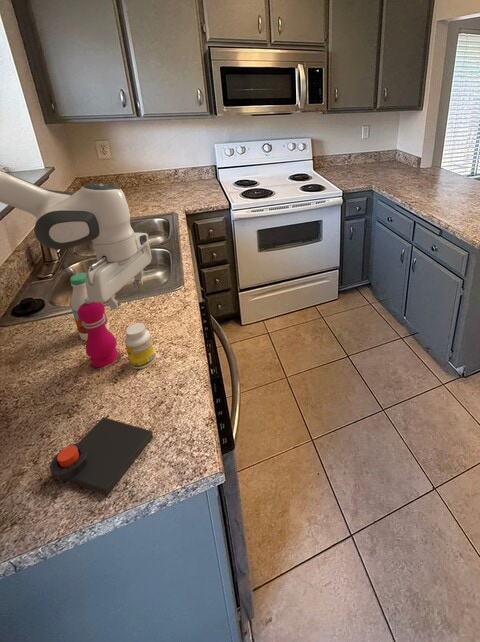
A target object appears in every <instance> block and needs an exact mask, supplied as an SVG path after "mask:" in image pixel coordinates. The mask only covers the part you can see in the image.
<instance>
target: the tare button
mask: <svg viewBox="0 0 480 642" xmlns="http://www.w3.org/2000/svg"><path fill="white" fill-rule="evenodd" d="M70 445H71V444H70ZM62 449H63V450H62ZM62 449H61V450H62V451H61V450H60V451H61V452H60V451H59V452H60V453H59V452H58V453H59V454H58V453H57V454H58V457H57V459H58V462H59V464H60V466H61V467H68V466H70V465H72V464H74V463H75V462H76V461H77V459H78V458H79V452H78V449H77V447H76V446H75V445H71V446H69V445H67V446H66V447H64V448H62Z"/></svg>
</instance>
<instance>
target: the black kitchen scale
mask: <svg viewBox="0 0 480 642" xmlns="http://www.w3.org/2000/svg"><path fill="white" fill-rule="evenodd" d="M153 438H154V435H153V431H152V430H150V429H145V428H143V427H139V426H135V425H132V424H128V423H125V422H121V421H118V420H115V419H111V418H108V417H105V416H103V417H102V418H101V419H100V420H99V421H98V422H97V423H96V424H95V425H94V426H93V427H92V428H91V429H90V430H89V431H88V432H87V433H86V434H85V435H84V436H83V437H82V439H80V440H79V441H78V442H77V443H72V444H70V445H68V446H71V445H75V446H76V447H77V449H78V452H79V458H78V459H77V461H76V462H75V463H74V464H72V465H70V466H68V467H61V466H60V464H59V462H58V459H57V457H58V454H59V453H60V452H61V451H62V450H63V449H64V448H62V449H61V450H59V452H58V453H57V454H56V455H54V457H53V458H52V460H51V462H50V464H49V470H50V474H51V477H52V479H54V480H57V481H65V482H67V483H71V484H74V485H77V486H78V487H81V488H84V489H88V490H90V491H92V492H96V493H97V494H98V493H99V494H101V495H104V496H107V497H108V496H109V495H110V494H111V493H112V492H113V490H114V489H115V487H116V486H117V485H118V484H119V482H120V481H121V480H122V478H123V477H124V476H125V475H126V473H127V472H128V470H129V469H130V468H131V467H132V465H133V464H134V463H135V461H137V459H138V458H139V456H141V454H142V453H143V451H144V450H145V449H146V447H147V446H148V445H149V443H150V442H151V441H152V440H153ZM100 492H101V493H100Z"/></svg>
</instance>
